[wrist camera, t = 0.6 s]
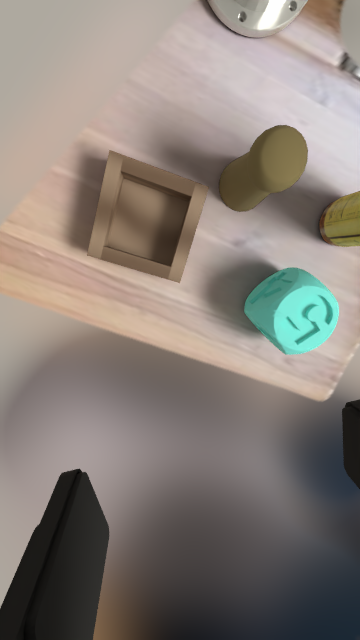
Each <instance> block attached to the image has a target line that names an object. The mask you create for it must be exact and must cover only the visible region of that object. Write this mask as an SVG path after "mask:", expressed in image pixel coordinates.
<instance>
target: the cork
mask: <svg viewBox="0 0 360 640" xmlns="http://www.w3.org/2000/svg"><path fill="white" fill-rule="evenodd" d="M307 154H308V149H307V145H306V141H305V139H304V138H303V136H302V134H301V133H300V132H298V131H297V130H296V129H295V128H293V127H290V126H287V125H278V126H275V127H272V128H270V129H268V130H266V131H264V132H263V133H262V134H261V135H260V136H259V137H258V138H257V139H256V140H255V142H254V143H253V145H252V147H251V148H250V151H249V152H248V153H246V154H245V155H243V156H241V157H239V158H238V159H236V160H234V161H233V162H231V163H230V164H229V165H228V166H227V167H226V168H225V169H224V171H223V173H222V174H221V178H220V182H219V192H220V195H221V198H222V200H223V201H224V203H225V204H226V206H228V207H229V208H231V209H232V210H235V211H239V212H242V211H248V210H250V209H253V208H254V207H255V206H256V205H257V204H259V203H260V202H261V201H262V200H263V199H264V198H265V197H267V196H268V195H269V194H270V193H278V192H281V191H283V190H285V189H288V188H290V187H291V186H292V185H293V184H294V183H295V182H297V180H298V179H299V178H300V176H301V175H302V173H303V172H304V170H305V166H306V163H307Z"/></svg>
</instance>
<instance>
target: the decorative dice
mask: <svg viewBox="0 0 360 640" xmlns="http://www.w3.org/2000/svg"><path fill="white" fill-rule="evenodd" d="M244 312H245V314H246V315H247V317H248V318H249V319H250V320H251V322H252V323H253V324H254V325H255V326H256V327H257V328H258V329H259V330H260V331H261V333H262V334H263V335H264V336H265V337H266V338H267V339H268V340H269V341H270V342H271V343H273V344H274V345H275V346H276V347H277V348H278V349H279V350H280V351H282V352H283V353H284V354H301V353H305V352H308V351H310V350H313V349H314V348H316V347H318V346H319V345H321V344H322V343H323V342H325V341H326V340H327V339H328V338H329V336H330V335H331V334H332V332H333V330H334V328H335V326H336V324H337V320H338V315H339V306H338V303H337V301H336V299H335V297H334V296H333V294H332V293H331V292H330V291H329V290H328V289H327V287H326V286H325V285H323V284H322V283H321V282H320V281H319V280H318V279H317V278H315V277H314V276H312V275H311V274H309V273H308V272H306V271H304V270H302V269H299V268H286V269H283V270H280V271H278V272H276V273H274V274H273V275H271V276H269V277H268V278H266V279H265V280H264V281H262V282H261V283H260V284H259V285H258V286H257V287H256V288H255V289H254V290H253V291H252V292H251V293H250V295H249V296H248V298H247V300H246V302H245V309H244Z"/></svg>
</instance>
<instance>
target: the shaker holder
mask: <svg viewBox="0 0 360 640" xmlns="http://www.w3.org/2000/svg"><path fill="white" fill-rule="evenodd" d="M208 189H209V187H208V186H205V185H202V184H200V183H197V182H194V181H192V180H189V179H186V178H183V177H181V176H178V175H175V174H173V173H170V172H167V171H165V170H162V169H159V168H157V167H154V166H151V165H148V164H146V163H143V162H140V161H138V160H135V159H132V158H130V157H127V156H124V155H121V154H119V153H116V152H113V151H111V150H109V155H108V160H107V164H106V169H105V174H104V178H103V183H102V188H101V192H100V197H99V202H98V206H97V211H96V216H95V220H94V225H93V230H92V235H91V239H90V244H89V249H88V253H87V255H88V256H91V257H94V258H98V259H101V260H104V261H108V262H111V263H115V264H118V265H121V266H125V267H128V268H131V269H135V270H138V271H141V272H145V273H148V274H151V275H155V276H158V277H161V278H165V279H168V280H172V281H175V282H178V283H180V281H181V277H182V274H183V271H184V268H185V264H186V261H187V258H188V254H189V251H190V248H191V245H192V241H193V238H194V235H195V231H196V228H197V225H198V222H199V218H200V215H201V212H202V208H203V205H204V202H205V199H206V195H207V192H208Z"/></svg>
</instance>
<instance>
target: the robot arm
mask: <svg viewBox="0 0 360 640" xmlns="http://www.w3.org/2000/svg"><path fill="white" fill-rule="evenodd" d="M207 1H208V2H209V4H210V6H211V8H212V10H213V11H214V13H215V14H216V15H217V16H218V18H219V19H220V20H221V21H222V22H223V23H224V24H225V25H226V26H227V27H229V28H230V29H231V30H233V31H235V32H237V33H239V34H241V35H244V36H248V37H260V38H261V37H266V36H270V35H273V34H275V33H277V32H279V31H281V30H283V29H284V28H285V27H287V26H288V25H289V24H290V23H291V22H292V21H293V20H294V19H295V18H296V17H297V16H298V15H299V13H300V12H301V10H302V8H303V7H304V5H305V4H306V2H307V0H207ZM342 421H343V454H344V468H345V470H346V472H347V474H348V476H349V477H350V478H351V479H352V480H353V482H354V483H355V484H356V485H357V487H358V488H359V489H360V400H356V401H351V402H348V403H346V405H345V408H343V409H342ZM108 540H109V526H108V524H107V521H106V519H105V516H104V514H103V511H102V509H101V506H100V504H99V502H98V499H97V497H96V494H95V492H94V489H93V487H92V485H91V482H90V480H89V477H88V475H87V473H86V472H83V473H82V471H81V470H80V469H76V470H72V471H68V472H64V473H62V474H61V475H60V477H59V480H58V481H57V484H56V486H55V489H54V491H53V493H52V496H51V498H50V501H49V503H48V505H47V508H46V510H45V512H44V515H43V517H42V520H41V522H40V524H39V525H38V526H37V527H36V528H35V530H34V532H33V534H32V536H31V539H30V541H29V543H28V545H27V548H26V550H25V552H24V555H23V557H22V559H21V562H20V564H19V566H18V569H17V571H16V573H15V576H14V578H13V580H12V583H11V585H10V587H9V589H8V592H7V594H6V596H5V599H4V601H3V604H2V606H1V608H0V640H93V634H94V627H95V622H96V615H97V609H98V603H99V597H100V591H101V584H102V578H103V572H104V566H105V559H106V553H107V547H108Z"/></svg>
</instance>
